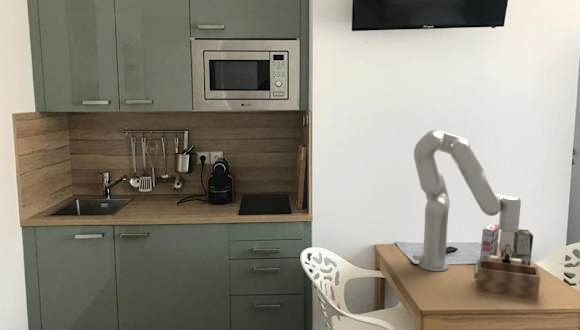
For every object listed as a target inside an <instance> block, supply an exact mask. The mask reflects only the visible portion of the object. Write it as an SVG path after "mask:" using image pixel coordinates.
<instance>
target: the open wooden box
mask: <svg viewBox="0 0 580 330" xmlns="http://www.w3.org/2000/svg"><path fill="white" fill-rule="evenodd" d="M477 263H478V267H477V276H476V281H475V282H476V284H475V291H477V292H485V293H492V294H498V295H499V294H500V295H505V296H510V297H511V296H512V297H518V298H526V299H531V300H532V299H533V300H539V293H540V292H539V291H540V283H541V281H540V280H541V276H540V272H539V270H538V267H537V266H535V265H534V266H532V265H530V266H526V265H518V264H511V263H503V262H495V261H487V260H480V258H479V259H478V260H477Z"/></svg>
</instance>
